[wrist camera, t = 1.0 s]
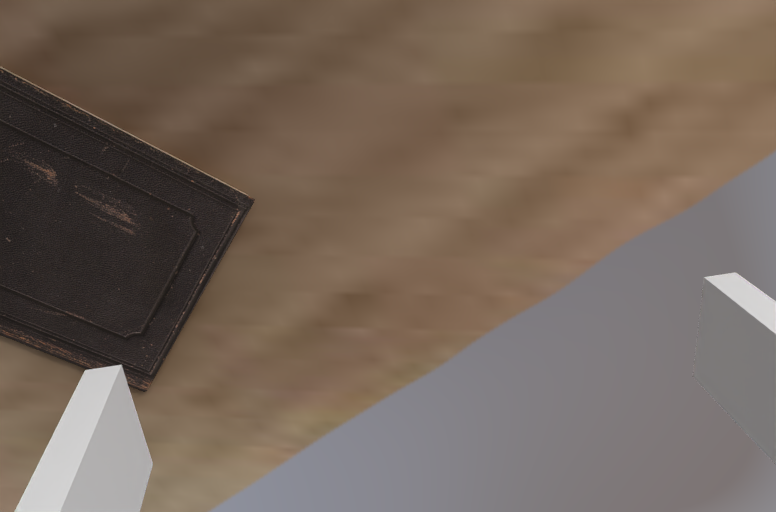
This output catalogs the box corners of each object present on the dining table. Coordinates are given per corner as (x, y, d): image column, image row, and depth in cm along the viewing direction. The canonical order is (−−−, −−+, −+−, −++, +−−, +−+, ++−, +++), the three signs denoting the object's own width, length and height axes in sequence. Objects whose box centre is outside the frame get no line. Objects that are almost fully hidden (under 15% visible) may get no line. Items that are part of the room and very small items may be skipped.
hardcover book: (-134, -14, 36) (-160, -13, 34) (256, 189, 43) (254, 201, 41) (-216, 230, 40) (-243, 245, 38) (150, 377, 47) (143, 397, 45)
